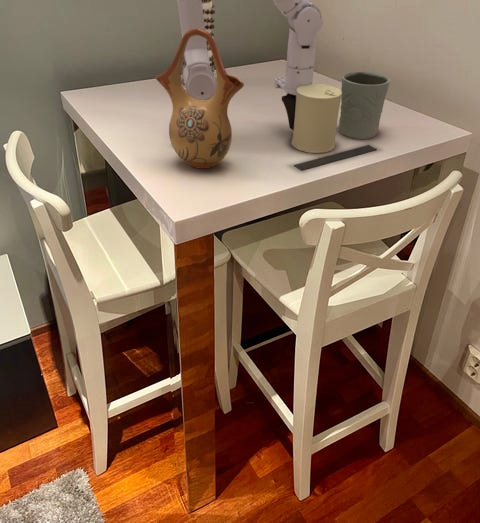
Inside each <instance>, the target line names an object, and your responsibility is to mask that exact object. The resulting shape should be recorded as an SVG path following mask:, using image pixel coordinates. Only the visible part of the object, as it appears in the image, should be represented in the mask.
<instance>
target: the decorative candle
mask: <svg viewBox="0 0 480 523" xmlns="http://www.w3.org/2000/svg"><path fill="white" fill-rule="evenodd" d="M202 8H203V17H204V26H205V31H206V32H208V33H209V34H210V35H211V36H212V37H213V38H214V36H215V33H213V32H212V30H213V29H215V25H214V24H213V23H214V22H215V18H213V16H212V15H214V14H215V13H216V11H215V10H214V9H213V8H215V5H214V4H213V0H202ZM180 35H181V37H182V33H180ZM206 43H207V51H208V56H209V62H210V67H211V69H212V73H213V75H214V76H215V74H214V72H215V68H214V67H213V66H215V62H214V58H213V55H212V52H211V49H210V46H209V44H208V42H207V40H206ZM184 63H185V58H184V56H183V61H182V66H184ZM183 83H184V84H185V82H184V81H183Z"/></svg>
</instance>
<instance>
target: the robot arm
mask: <svg viewBox="0 0 480 523" xmlns="http://www.w3.org/2000/svg"><path fill="white" fill-rule="evenodd" d="M271 1H272V3H273V4H274V5H275V7H276V8H277V9H278V11H279V12H280V13H281V15H282V16H283V17H285V20H286V23H287V25H289V26H290V27H289V29H288V30H289V31H288V32H289V33H288V41H287V52H286V65H285V77H281V76H280V77H276V78H274V86H273V87H274V88H275V89H281V90H283V92H285V93H286V95H282V96H281V102H282V103H283V106H284V108H285V111H286V115H287V120H288V128H289V129H290V130H291V131H294V120H295V108H296V94H297V91H296V90H297V88H298V87H299V86H307V85H310V84H313V80H314V71H315V60H316V50H317V38H318V37H317V36H318V33H319V32H320V30H321V29H322V27H323V24H324V19H323V18H322V12H321V10H320V8H319V7H318V6H316V5H315V4H314V3H312V1H311V0H271ZM176 3H177V4H176V5H177V11H178V17H179V24H180V31H181V32H180V34H182V36H181V39H182V38H183V36H184V34H185V33H186V32H187V31H189V30H191V29H196V28H199V29H202V30H205V26H204V17H203V8H202V0H176ZM184 58H185V60H184V61H185V63H184V65H183V66H182V69H181V78H182V80H183V83H184V82H185V83H184V90H185V91H186V93H187V94H188V95H190V96H191V97H193V98H195V99H200V100H208V99H210V98H211V97H212V96H213V95H214V94H215V92H216V89H217V78H216V77H215V74H214V72H213V73H212V69H211V67H210V62H209V56H208V51H207V43H206V39H205V38H204V37H202V36H198V35H196V36H192V37H190V39H189V40H188V42H187V45H186V48H185V52H184ZM213 74H214V75H213Z"/></svg>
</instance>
